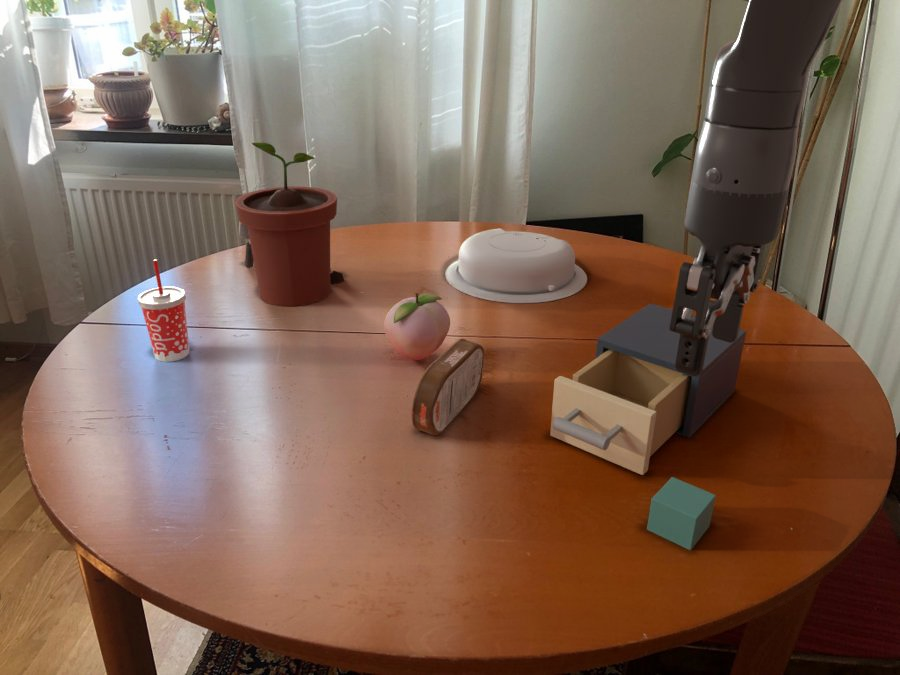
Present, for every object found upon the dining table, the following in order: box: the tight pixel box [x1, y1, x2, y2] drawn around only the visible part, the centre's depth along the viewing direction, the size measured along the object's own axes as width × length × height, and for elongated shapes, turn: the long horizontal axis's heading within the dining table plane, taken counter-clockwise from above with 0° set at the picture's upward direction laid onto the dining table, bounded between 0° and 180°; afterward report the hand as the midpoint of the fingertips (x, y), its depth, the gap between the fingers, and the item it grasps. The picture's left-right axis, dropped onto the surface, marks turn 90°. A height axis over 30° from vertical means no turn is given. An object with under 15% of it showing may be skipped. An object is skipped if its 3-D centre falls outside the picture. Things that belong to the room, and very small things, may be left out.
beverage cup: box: [136, 258, 190, 363], centre depth 101 cm, size 6×6×14 cm
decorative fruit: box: [383, 292, 451, 361], centre depth 100 cm, size 9×8×10 cm
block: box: [646, 476, 717, 551], centre depth 70 cm, size 4×4×4 cm
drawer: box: [549, 349, 692, 476], centre depth 82 cm, size 17×12×7 cm
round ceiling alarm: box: [444, 228, 588, 304], centre depth 130 cm, size 25×25×6 cm
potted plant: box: [234, 142, 345, 307], centre depth 121 cm, size 18×22×25 cm
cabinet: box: [595, 303, 747, 439], centre depth 91 cm, size 14×13×9 cm
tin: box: [411, 338, 485, 436], centre depth 88 cm, size 15×3×8 cm, turn 154°
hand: (706, 354), depth 67 cm, fingers open, 8 cm apart
